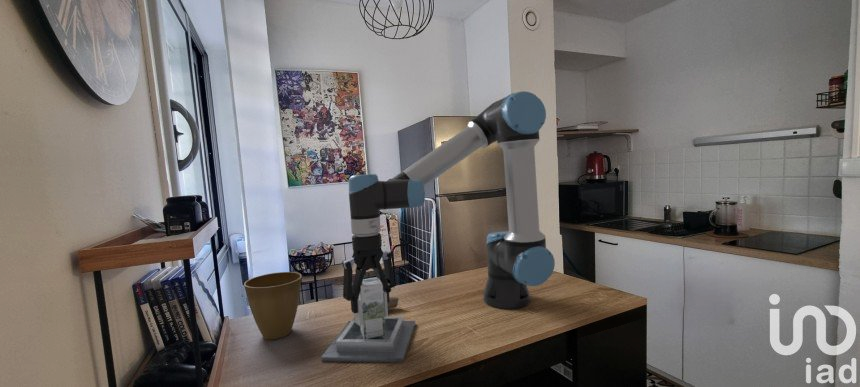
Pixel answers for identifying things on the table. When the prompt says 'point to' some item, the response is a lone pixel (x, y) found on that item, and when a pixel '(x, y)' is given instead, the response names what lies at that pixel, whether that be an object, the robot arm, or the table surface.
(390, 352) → the duct plate
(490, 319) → the table surface
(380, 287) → the syrup box
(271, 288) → the plant pot
